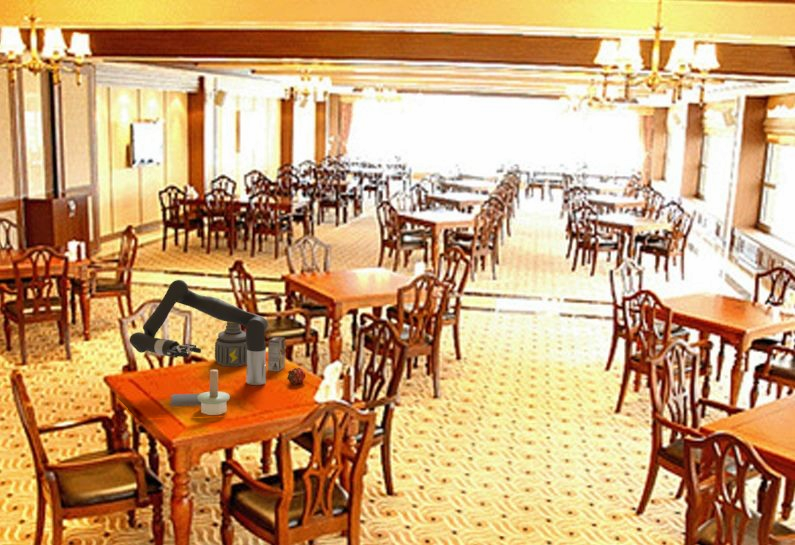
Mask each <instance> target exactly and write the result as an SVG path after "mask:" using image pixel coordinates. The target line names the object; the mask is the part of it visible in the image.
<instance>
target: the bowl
mask: <svg viewBox="0 0 795 545" xmlns="http://www.w3.org/2000/svg"><path fill="white" fill-rule="evenodd" d="M227 402H228V401H227ZM227 402H224V403H219V404H206V403H202V402H201V405H200V412H201V413H202V414H204V415H207V416H213V415H214V416H217V415H222V414H224V413H226V412H227V408H228V407H227V404H228V403H227Z"/></svg>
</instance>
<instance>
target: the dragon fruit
mask: <svg viewBox="0 0 795 545" xmlns="http://www.w3.org/2000/svg"><path fill="white" fill-rule="evenodd" d="M306 377H307V376H306V373H305V371H304V370H303V369H301V367H297V368H295V367H294V368H293V369H292V370H289V371H288V375H287V380H288V382H290V383H292V384H293V385H297V384H303V383H304V380H305V378H306Z"/></svg>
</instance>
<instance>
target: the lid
mask: <svg viewBox="0 0 795 545" xmlns="http://www.w3.org/2000/svg"><path fill="white" fill-rule="evenodd" d="M198 394H199V395H198V401H200V402H202V403H206V404H219V403H224V402H228V401H230V398H231V396H230V394H229V393H228V392H224V391H219V370H218V369H210V370H209V391H206V392H205V391H204V392H201V393H198Z"/></svg>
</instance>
